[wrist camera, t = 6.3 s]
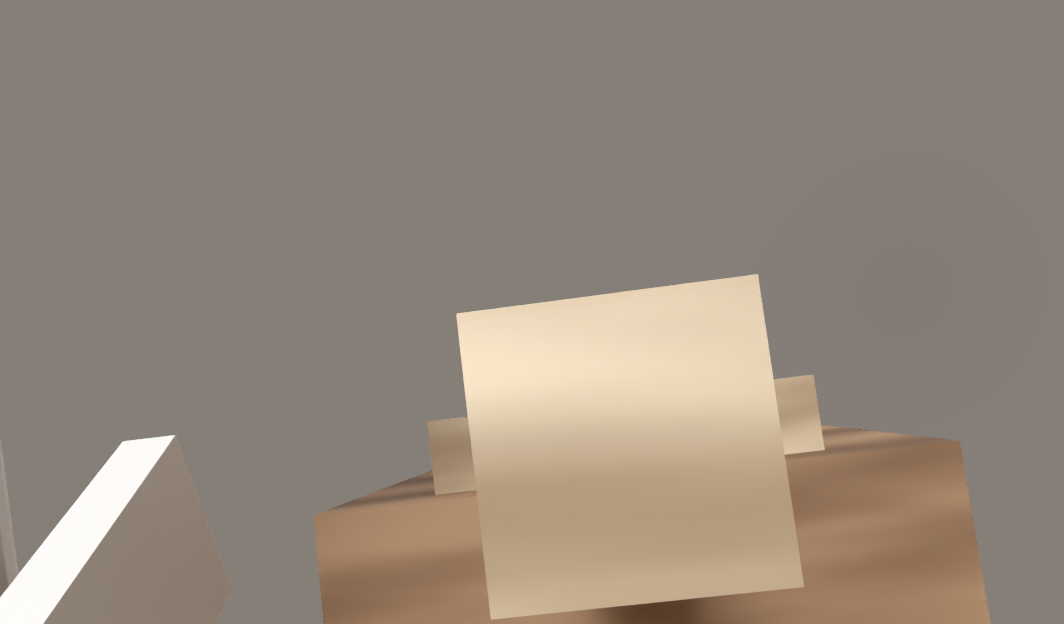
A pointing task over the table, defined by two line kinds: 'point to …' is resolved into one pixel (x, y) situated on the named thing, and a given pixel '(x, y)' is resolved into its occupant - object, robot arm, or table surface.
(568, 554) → the cream cross-shaped block
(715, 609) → the tall crate
